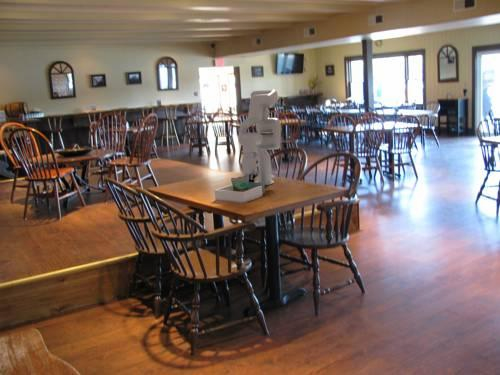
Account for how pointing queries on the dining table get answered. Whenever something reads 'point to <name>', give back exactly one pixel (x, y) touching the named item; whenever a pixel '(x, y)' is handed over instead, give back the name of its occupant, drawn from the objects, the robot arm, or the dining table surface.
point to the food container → (240, 183)
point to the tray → (252, 186)
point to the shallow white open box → (237, 194)
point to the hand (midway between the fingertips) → (251, 185)
